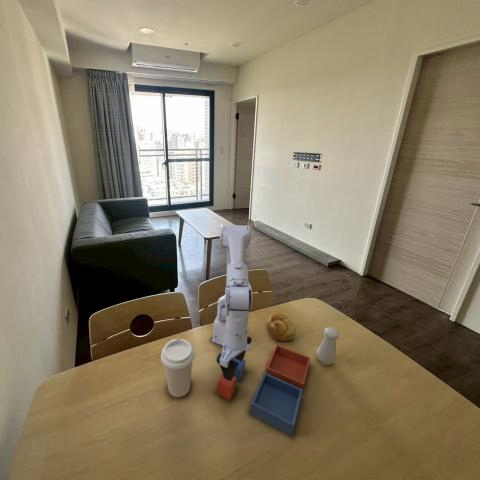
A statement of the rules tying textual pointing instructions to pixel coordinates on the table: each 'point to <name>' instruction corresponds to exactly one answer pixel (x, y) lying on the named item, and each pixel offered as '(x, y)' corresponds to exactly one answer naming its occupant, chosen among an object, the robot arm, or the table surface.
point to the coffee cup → (178, 366)
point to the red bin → (288, 366)
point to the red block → (226, 387)
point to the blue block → (239, 369)
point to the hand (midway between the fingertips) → (233, 368)
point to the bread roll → (281, 327)
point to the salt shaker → (328, 346)
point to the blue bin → (277, 403)
